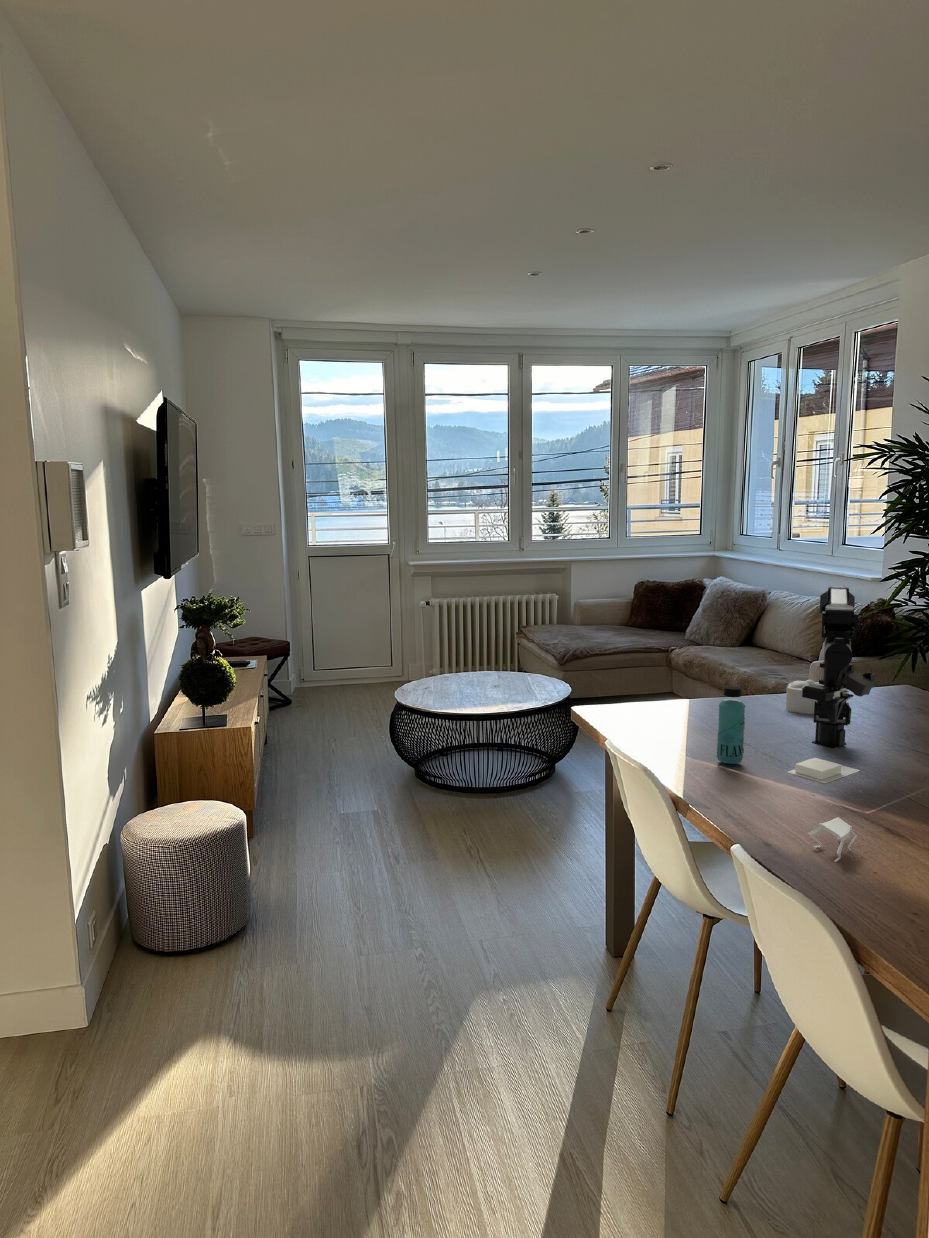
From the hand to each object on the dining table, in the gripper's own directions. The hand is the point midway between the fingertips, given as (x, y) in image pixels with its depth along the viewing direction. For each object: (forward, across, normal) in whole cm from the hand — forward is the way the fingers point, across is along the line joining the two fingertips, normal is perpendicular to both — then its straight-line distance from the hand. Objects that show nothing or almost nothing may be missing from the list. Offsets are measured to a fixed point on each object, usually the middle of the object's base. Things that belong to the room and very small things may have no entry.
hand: (833, 723), depth 203 cm
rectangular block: (+10, -1, 0) cm, 10 cm away
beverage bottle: (+12, -16, +17) cm, 26 cm away
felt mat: (+12, -3, 0) cm, 12 cm away
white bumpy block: (+12, +47, +36) cm, 60 cm away
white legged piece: (+12, -42, -27) cm, 51 cm away
